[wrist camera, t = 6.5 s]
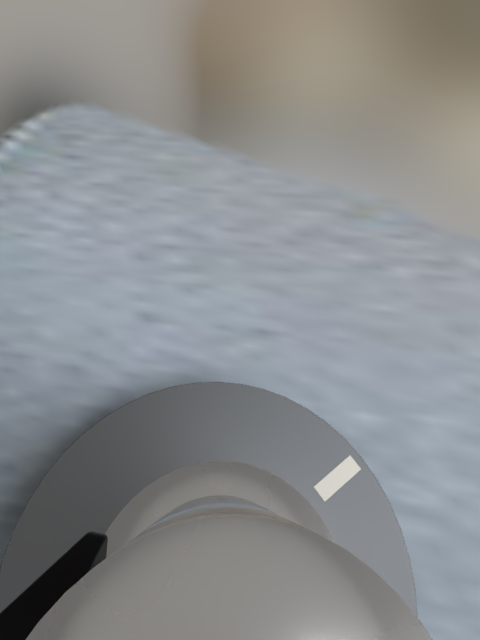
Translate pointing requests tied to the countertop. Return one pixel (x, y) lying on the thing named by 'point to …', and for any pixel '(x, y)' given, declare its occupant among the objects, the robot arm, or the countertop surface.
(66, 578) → the robot arm
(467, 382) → the countertop surface
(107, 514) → the turntable
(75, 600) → the cover
